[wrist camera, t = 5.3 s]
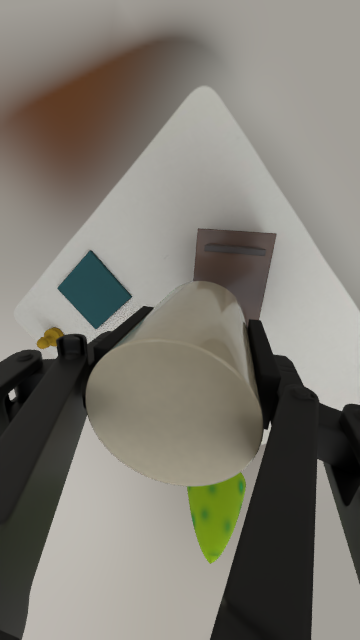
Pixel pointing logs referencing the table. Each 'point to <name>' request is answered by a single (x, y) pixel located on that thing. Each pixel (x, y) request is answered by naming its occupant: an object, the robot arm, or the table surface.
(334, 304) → the table surface
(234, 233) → the holder
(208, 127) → the table surface
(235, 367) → the cream cylinder
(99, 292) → the mat
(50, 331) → the chess piece
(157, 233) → the table surface
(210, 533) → the mushroom
